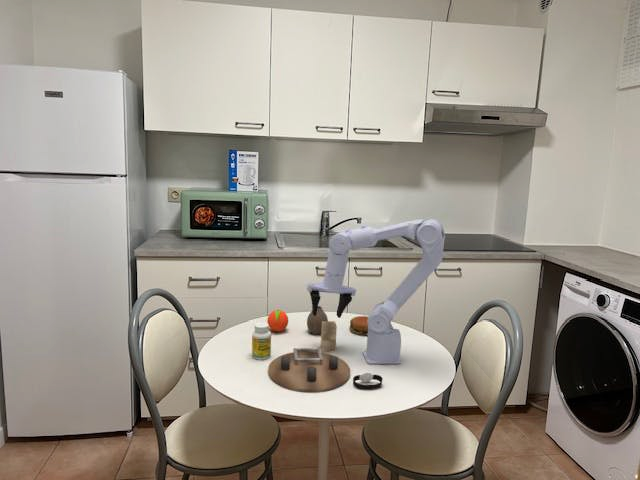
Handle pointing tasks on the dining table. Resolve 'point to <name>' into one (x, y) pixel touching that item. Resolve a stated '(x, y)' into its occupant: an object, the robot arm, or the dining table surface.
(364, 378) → the watch
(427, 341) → the dining table surface
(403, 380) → the dining table surface
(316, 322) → the vase
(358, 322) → the burger
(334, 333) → the stool leg
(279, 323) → the clementine
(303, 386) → the stool seat
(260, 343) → the supplement bottle
